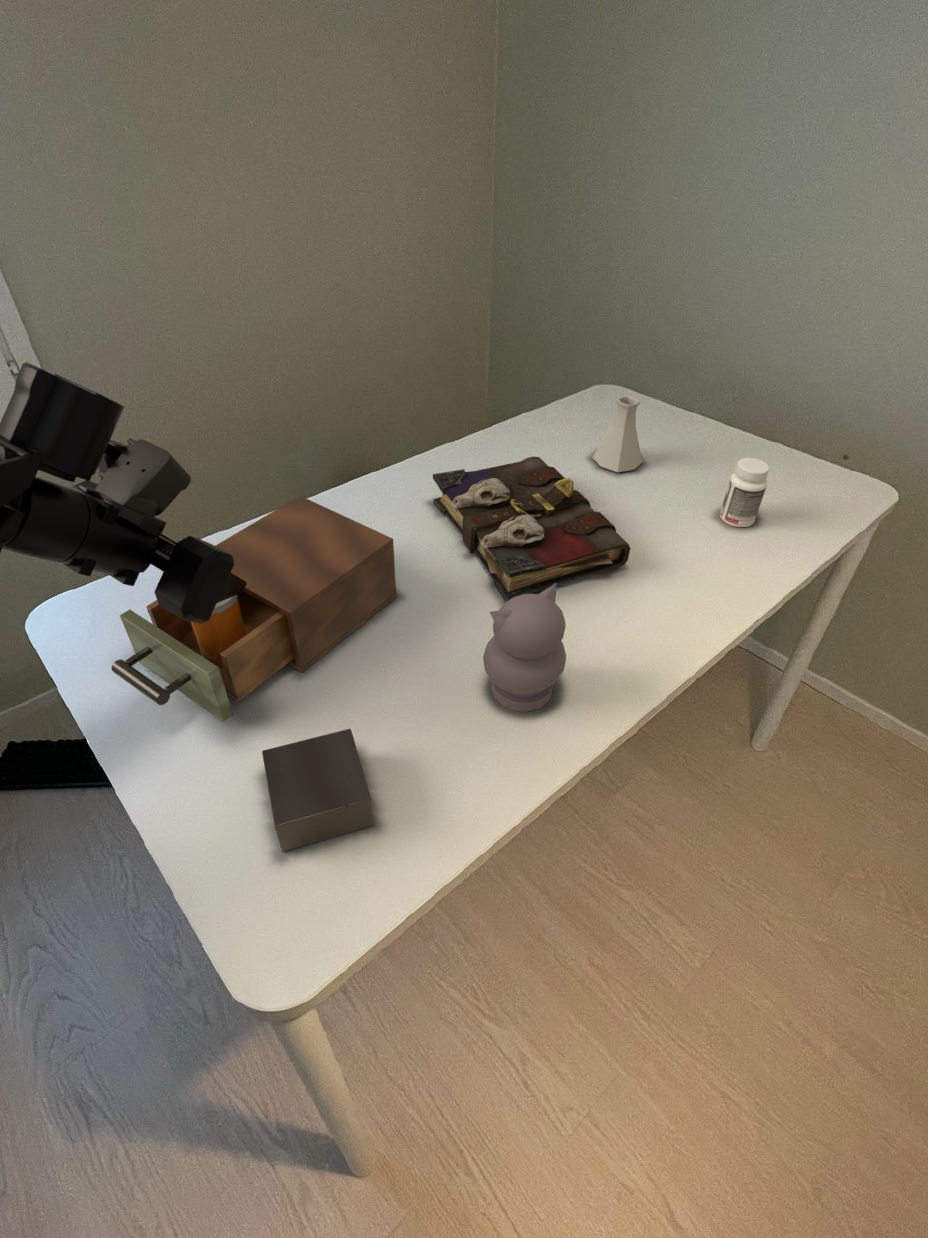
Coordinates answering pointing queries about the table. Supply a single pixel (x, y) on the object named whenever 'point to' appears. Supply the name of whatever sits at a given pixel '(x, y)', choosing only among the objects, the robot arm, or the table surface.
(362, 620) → the cabinet
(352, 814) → the stand
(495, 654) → the cat figurine
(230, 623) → the amber jar
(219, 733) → the table surface
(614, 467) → the flask
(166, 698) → the drawer
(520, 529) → the book
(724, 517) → the pill bottle
